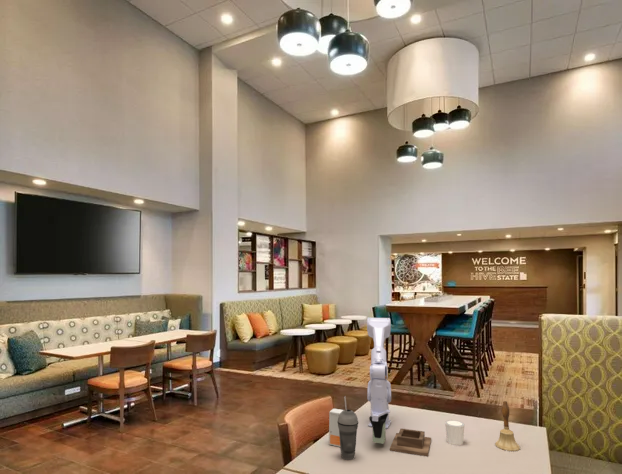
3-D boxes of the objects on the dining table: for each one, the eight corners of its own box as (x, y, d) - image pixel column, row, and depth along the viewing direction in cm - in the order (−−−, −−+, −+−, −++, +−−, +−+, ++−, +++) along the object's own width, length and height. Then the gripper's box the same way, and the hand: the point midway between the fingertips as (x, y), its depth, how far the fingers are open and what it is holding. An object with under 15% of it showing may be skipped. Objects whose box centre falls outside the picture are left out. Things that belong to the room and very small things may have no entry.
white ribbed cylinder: (442, 442, 156) (441, 423, 157) (450, 437, 161) (449, 418, 162) (460, 447, 151) (459, 427, 152) (467, 442, 156) (467, 422, 157)
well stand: (396, 435, 162) (396, 424, 163) (431, 440, 158) (431, 429, 158) (389, 450, 148) (389, 438, 149) (427, 456, 144) (427, 444, 144)
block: (374, 438, 156) (374, 421, 156) (385, 439, 154) (385, 422, 155) (372, 442, 152) (372, 425, 153) (383, 443, 151) (383, 426, 151)
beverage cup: (352, 463, 138) (352, 401, 140) (333, 458, 142) (333, 397, 143) (362, 455, 144) (361, 395, 146) (343, 450, 148) (343, 392, 150)
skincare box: (328, 445, 153) (328, 411, 154) (333, 441, 157) (333, 408, 158) (343, 448, 150) (343, 413, 151) (348, 444, 154) (348, 410, 155)
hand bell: (495, 449, 150) (494, 403, 152) (494, 440, 158) (492, 397, 159) (521, 452, 147) (519, 406, 149) (518, 444, 155) (517, 399, 157)
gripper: (386, 404, 146) (386, 444, 145) (392, 393, 160) (393, 429, 159) (366, 401, 149) (366, 441, 148) (374, 391, 162) (374, 427, 161)
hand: (379, 435), depth 153 cm, fingers closed on block, 4 cm apart
